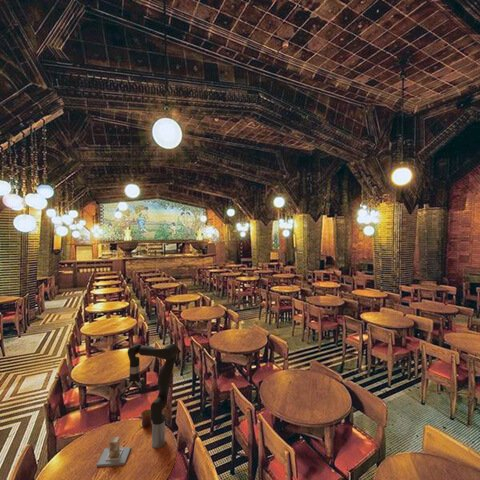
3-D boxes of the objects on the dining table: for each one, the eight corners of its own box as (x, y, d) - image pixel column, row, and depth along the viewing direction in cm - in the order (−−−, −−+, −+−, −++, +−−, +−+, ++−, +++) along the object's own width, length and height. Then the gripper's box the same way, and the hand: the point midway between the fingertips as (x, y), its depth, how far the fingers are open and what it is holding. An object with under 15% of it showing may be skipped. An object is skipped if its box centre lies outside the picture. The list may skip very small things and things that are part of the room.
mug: (142, 430, 216) (142, 417, 216) (140, 423, 223) (140, 411, 223) (157, 424, 223) (157, 412, 222) (154, 418, 230) (154, 406, 230)
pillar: (119, 452, 192) (119, 436, 192) (116, 457, 187) (117, 442, 187) (112, 452, 192) (112, 437, 192) (109, 458, 187) (109, 442, 187)
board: (130, 448, 197) (130, 445, 197) (124, 464, 183) (124, 461, 183) (105, 450, 196) (105, 447, 196) (96, 466, 182) (96, 463, 182)
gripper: (123, 374, 205) (123, 395, 205) (142, 373, 207) (142, 394, 207) (126, 369, 213) (126, 389, 213) (145, 368, 214) (145, 388, 214)
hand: (134, 392), depth 210 cm, fingers open, 8 cm apart
